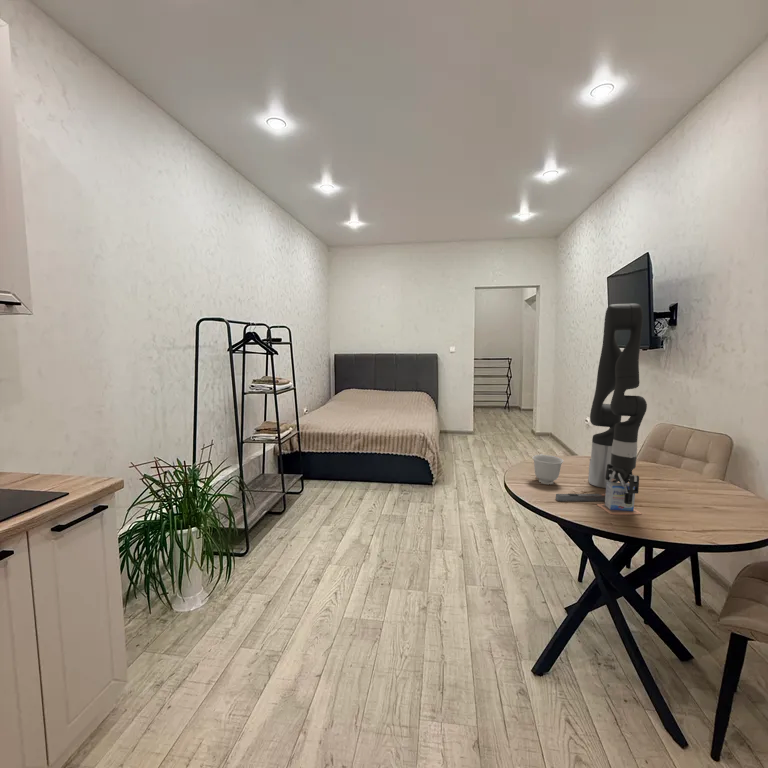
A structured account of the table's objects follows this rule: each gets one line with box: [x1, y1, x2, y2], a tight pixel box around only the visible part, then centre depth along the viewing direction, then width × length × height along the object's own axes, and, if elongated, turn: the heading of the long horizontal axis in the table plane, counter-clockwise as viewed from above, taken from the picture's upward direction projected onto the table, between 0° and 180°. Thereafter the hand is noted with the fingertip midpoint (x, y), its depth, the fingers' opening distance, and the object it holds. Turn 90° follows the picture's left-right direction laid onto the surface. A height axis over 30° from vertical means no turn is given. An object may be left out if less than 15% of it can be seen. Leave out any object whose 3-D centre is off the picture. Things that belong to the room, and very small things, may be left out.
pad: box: [596, 503, 643, 515], centre depth 144 cm, size 8×11×1 cm
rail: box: [555, 493, 606, 502], centre depth 151 cm, size 2×24×4 cm, turn 94°
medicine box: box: [604, 482, 636, 511], centre depth 143 cm, size 8×4×9 cm, turn 84°
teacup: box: [531, 453, 564, 485], centre depth 171 cm, size 12×15×10 cm
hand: (619, 498), depth 143 cm, fingers open, 8 cm apart
